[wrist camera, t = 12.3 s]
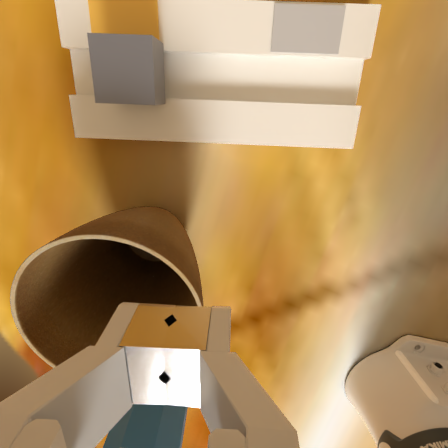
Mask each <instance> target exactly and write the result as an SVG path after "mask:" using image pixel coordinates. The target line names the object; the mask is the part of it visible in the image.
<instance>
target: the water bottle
mask: <svg viewBox="0 0 448 448" xmlns="http://www.w3.org/2000/svg"><path fill="white" fill-rule="evenodd" d="M187 408H188V407H186V406H174V405H148V404H132V407H131V408H130V409H129V410H128V411H127V413H126V414H125V415H124V416H123V417H122V418H121V419H120V420H119V421H118V422H117V423H116V425H115V426H114V427H113V428H112V429H111V430H110V431H109V433H108V436H107V438H106V441H105V444H104V446H103V448H181V447H182V440H183V434H184V427H185V421H186V414H187Z"/></svg>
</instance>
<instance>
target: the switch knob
mask: <svg viewBox="0 0 448 448" xmlns="http://www.w3.org/2000/svg"><path fill="white" fill-rule="evenodd" d="M87 37H88V45H89V53H90V62H91V70H92V78H93V87H94V95H95V103H110V104H135V105H162V104H166V103H165V75H164V48H163V43H162V42H161V41H159V40H158V39H157V38H155V37H154V36H153V35H137V34H108V33H87Z"/></svg>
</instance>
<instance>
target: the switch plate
mask: <svg viewBox="0 0 448 448" xmlns="http://www.w3.org/2000/svg"><path fill="white" fill-rule="evenodd" d="M55 7H56V13H57V20H58V27H59V33H60V40H61V47H63V48H67V49H70V54H71V61H72V68H73V75H74V82H75V90H76V95H69V100H70V106H71V113H72V120H73V126H74V133H75V138H99V139H124V140H148V141H173V142H197V143H221V144H246V145H270V146H295V147H319V148H344V149H353V146H354V141H355V136H356V131H357V126H358V121H359V116H360V111H361V106H356V101H357V96H358V90H359V85H360V80H361V75H362V69H363V64H364V60H366V59H369V58H371V55H372V50H373V45H374V40H375V35H376V29H377V24H378V19H379V14H380V9H381V4H352V3H322V2H292V1H261V0H55ZM87 33H108V34H137V35H153V36H154V37H155V38H157V39H158V40H159V41H161V42H162V43H163V48H164V75H165V103H166V104H162V105H135V104H110V103H95V95H94V87H93V78H92V70H91V62H90V53H89V45H88V37H87Z"/></svg>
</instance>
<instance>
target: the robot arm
mask: <svg viewBox="0 0 448 448" xmlns="http://www.w3.org/2000/svg"><path fill="white" fill-rule="evenodd" d="M230 327H231V308H230V306H212V307H203V306H176V305H164V304H148V303H129V302H122V303H121V304H119V305H118V307H117V309H116V311H115V312H114V314H113V316H112V318H111V319H110V321H109V323H108V324H107V326H106V328H105V330H104V331H103V333H102V335H101V337H100V338H99V340H98V342H97V343H96V345H95V346H88V347H86V348H85V349H83V350H82V351H80V352H79V353H77V354H75V355H74V356H72V357H71V358H69V359H68V360H66V361H64V362H63V363H61V364H60V365H58V366H57V367H55V368H53V369H52V370H50V371H49V372H47V373H46V374H44V375H42V376H41V377H39V378H38V379H36V380H35V381H33V382H32V383H30V384H28V385H27V386H25V387H24V388H22V389H21V390H19V391H17V392H16V393H14V394H13V395H11V396H10V397H8V398H6V399H5V400H3V401H2V402H0V448H94V447H95V446H96V445H97V444H98V443H99V442H100V441H101V440H102V439H103V438H104V437H105V435H106V434H107V433H108V432H109V431H110V430H111V429H112V428H113V427H114V426H115V425H116V423H117V422H118V421H119V420H120V419H121V418H122V417H123V416H124V415H125V414H126V413H127V411H128V410H129V409H130V408H131V407H132V404H148V405H174V406H186V407H198V408H200V410H201V412H202V414H203V416H204V419H205V421H206V423H207V426H208V428H209V430H210V432H211V434H210V435H209V440H208V448H300V447H299V442H298V436H297V431H296V430H295V429H294V427H293V426H292V425H291V423H290V422H289V421H288V420H287V418H286V417H285V416H284V414H283V413H282V412H281V410H280V409H279V408H278V407H277V405H276V404H275V403H274V401H273V400H272V399H271V398H270V396H269V395H268V394H267V392H266V391H265V390H264V389H263V387H262V386H261V385H260V383H259V382H258V381H257V379H256V378H255V377H254V376H253V374H252V373H251V372H250V370H249V369H248V368H247V367H246V365H245V364H244V363H243V361H242V360H241V359H240V358H239V356H238V355H237V354H236V353H235V352H230ZM345 392H346V396H347V398H348V400H349V401H350V403H351V404H352V405H353V406H354V408H355V409H356V410H357V412H358V413H359V415H360V417H361V418H362V420H363V421H364V423H365V425H366V427H367V428H368V430H369V432H370V434H371V436H372V438H373V439H374V441H375V443H376V445H377V448H448V343H446V342H441V341H436V340H432V339H427V338H422V337H418V336H413V335H406V336H403V337H401V338H400V339H398V340H397V341H396V342H394V343H393V344H392V345H391V346H390V347H388V348H386V349H384V350H381V351H379V352H376V353H374V354H372V355H370V356H368V357H366V358H365V359H363V360H362V361H360V362H359V363H358V364H357V365H356V366H355V367H354V368H353V369H352V370H351V372H350V373H349V375H348V377H347V380H346V383H345Z"/></svg>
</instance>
